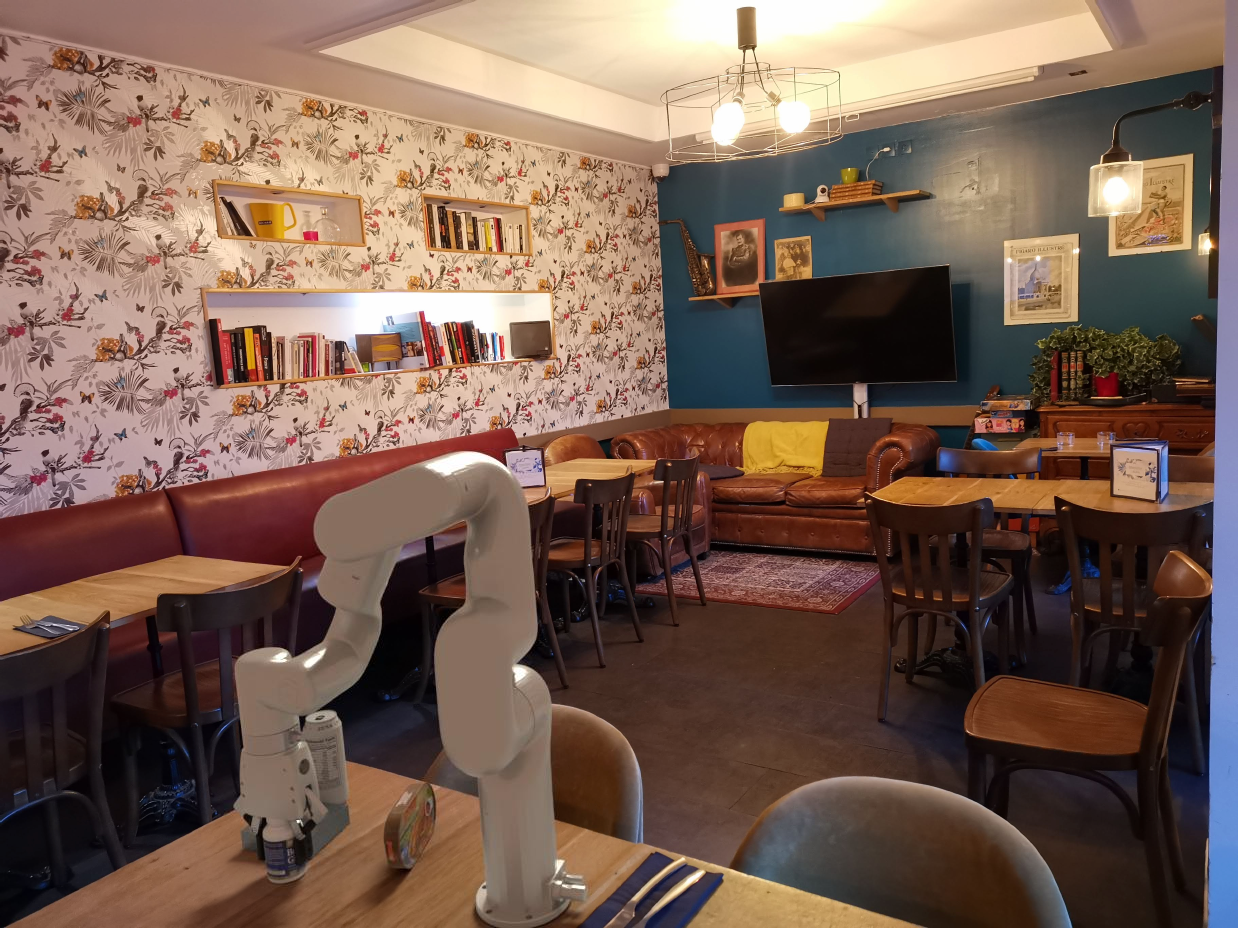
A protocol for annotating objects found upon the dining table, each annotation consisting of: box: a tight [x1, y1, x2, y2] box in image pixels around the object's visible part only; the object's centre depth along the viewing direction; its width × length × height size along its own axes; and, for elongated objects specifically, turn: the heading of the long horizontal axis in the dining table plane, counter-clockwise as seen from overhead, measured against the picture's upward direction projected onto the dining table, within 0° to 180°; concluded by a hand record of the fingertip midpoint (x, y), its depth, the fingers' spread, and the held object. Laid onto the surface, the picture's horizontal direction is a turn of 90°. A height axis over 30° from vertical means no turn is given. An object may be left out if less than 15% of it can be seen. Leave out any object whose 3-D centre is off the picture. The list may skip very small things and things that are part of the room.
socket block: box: [240, 802, 351, 859], centre depth 137 cm, size 12×10×3 cm
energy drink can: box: [302, 709, 350, 805], centre depth 146 cm, size 6×6×15 cm
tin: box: [383, 781, 437, 870], centre depth 131 cm, size 15×3×8 cm, turn 173°
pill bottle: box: [263, 818, 308, 884], centre depth 127 cm, size 5×5×10 cm
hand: (286, 856), depth 127 cm, fingers closed on pill bottle, 5 cm apart
